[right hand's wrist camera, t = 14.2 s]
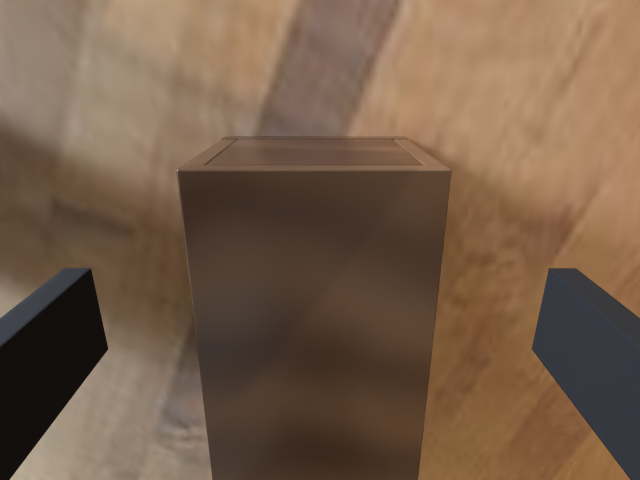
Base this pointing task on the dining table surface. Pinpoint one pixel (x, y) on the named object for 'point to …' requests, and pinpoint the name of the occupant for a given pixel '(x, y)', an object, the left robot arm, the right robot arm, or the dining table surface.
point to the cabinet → (314, 302)
